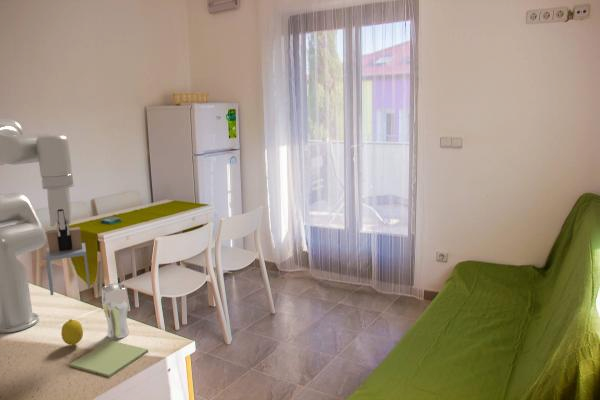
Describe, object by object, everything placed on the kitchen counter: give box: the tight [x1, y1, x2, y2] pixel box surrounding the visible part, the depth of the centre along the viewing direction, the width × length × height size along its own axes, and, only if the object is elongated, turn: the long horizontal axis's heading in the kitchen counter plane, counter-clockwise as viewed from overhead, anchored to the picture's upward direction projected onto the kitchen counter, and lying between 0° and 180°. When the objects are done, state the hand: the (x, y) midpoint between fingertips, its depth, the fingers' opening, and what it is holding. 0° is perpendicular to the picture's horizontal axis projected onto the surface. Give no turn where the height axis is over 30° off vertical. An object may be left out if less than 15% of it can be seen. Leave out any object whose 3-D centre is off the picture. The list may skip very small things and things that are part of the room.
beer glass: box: [101, 283, 130, 340], centre depth 143 cm, size 7×7×15 cm
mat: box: [69, 339, 149, 378], centre depth 131 cm, size 14×14×1 cm
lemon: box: [61, 318, 84, 346], centre depth 138 cm, size 6×6×8 cm
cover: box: [45, 226, 91, 296], centre depth 133 cm, size 10×10×16 cm
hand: (65, 247), depth 132 cm, fingers closed on cover, 3 cm apart
